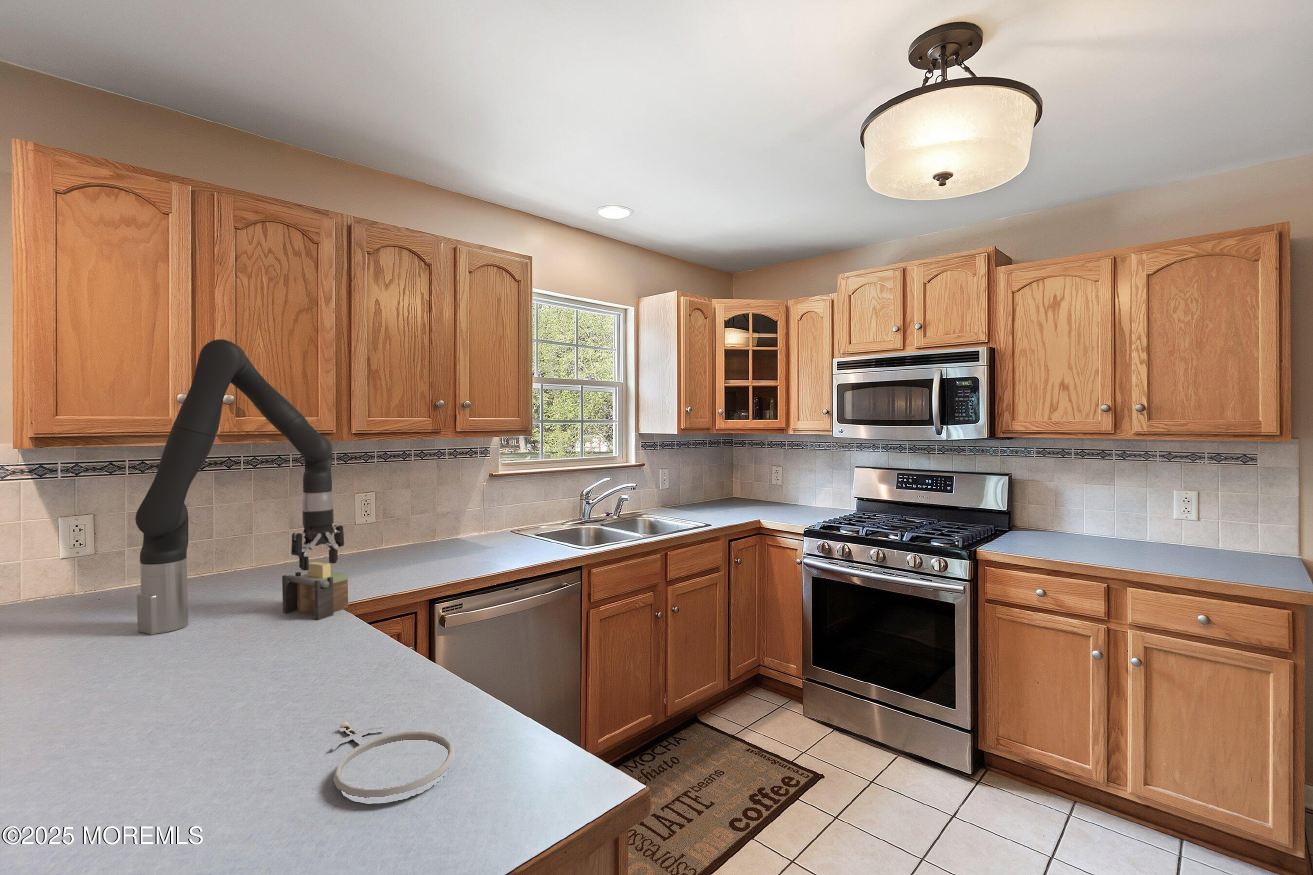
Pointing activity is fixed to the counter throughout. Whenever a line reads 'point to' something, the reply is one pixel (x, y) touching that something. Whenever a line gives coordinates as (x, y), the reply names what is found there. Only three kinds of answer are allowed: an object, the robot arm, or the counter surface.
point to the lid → (318, 575)
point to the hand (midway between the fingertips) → (319, 566)
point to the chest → (314, 597)
